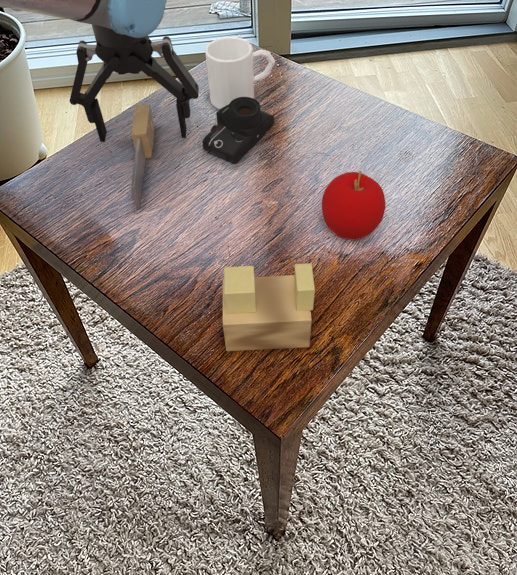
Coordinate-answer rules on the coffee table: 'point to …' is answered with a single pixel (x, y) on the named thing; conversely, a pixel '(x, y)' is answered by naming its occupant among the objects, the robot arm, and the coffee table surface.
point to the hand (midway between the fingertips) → (143, 135)
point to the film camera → (237, 129)
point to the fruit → (353, 205)
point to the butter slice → (304, 287)
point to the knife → (141, 147)
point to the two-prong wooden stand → (269, 319)
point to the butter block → (239, 289)
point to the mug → (233, 69)
